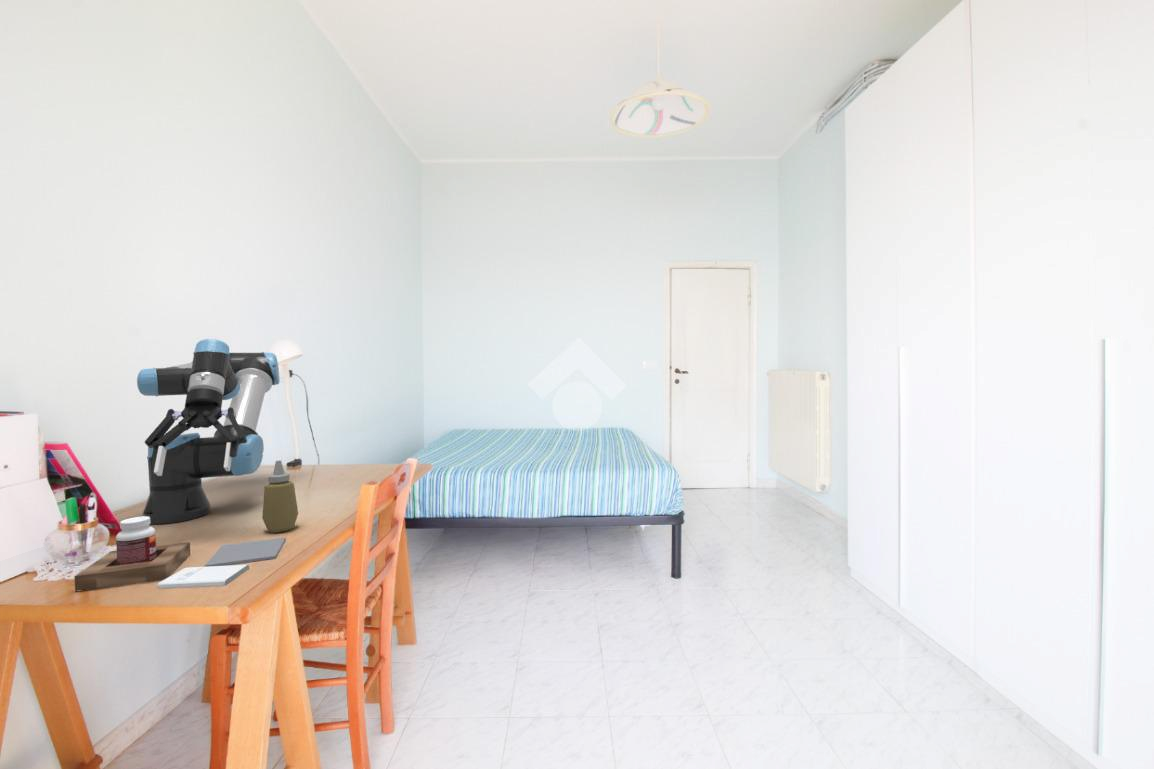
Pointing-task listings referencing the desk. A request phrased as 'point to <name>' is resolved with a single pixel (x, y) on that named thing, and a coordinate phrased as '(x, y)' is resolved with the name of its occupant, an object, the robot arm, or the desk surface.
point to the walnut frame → (132, 568)
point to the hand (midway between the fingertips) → (193, 471)
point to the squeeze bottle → (279, 501)
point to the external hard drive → (203, 576)
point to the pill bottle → (136, 541)
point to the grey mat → (246, 552)
